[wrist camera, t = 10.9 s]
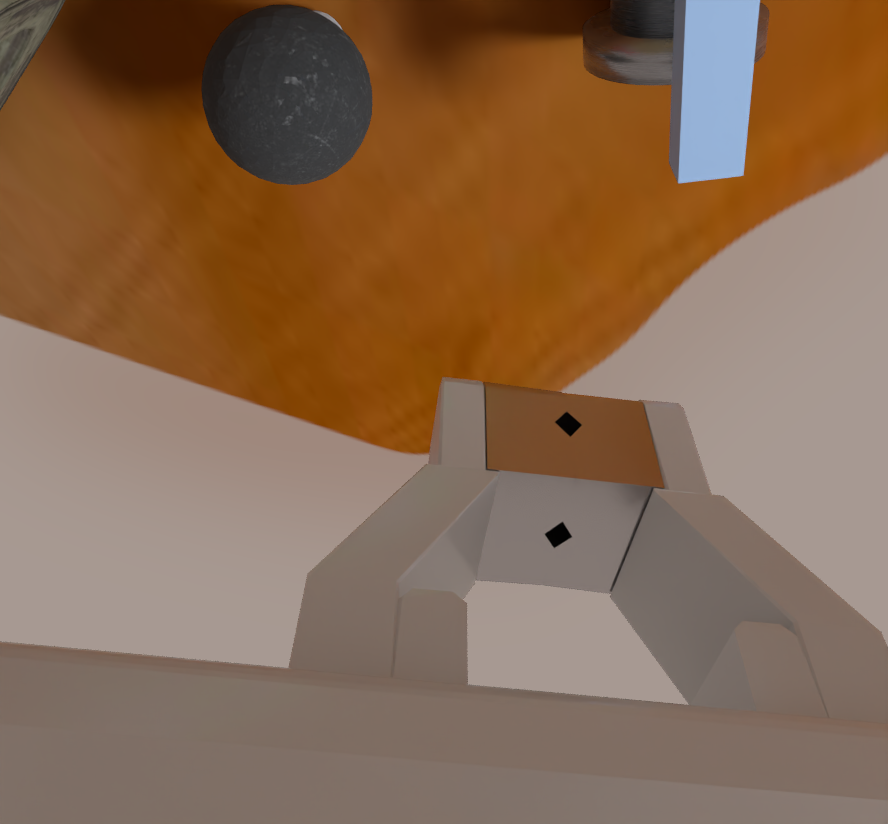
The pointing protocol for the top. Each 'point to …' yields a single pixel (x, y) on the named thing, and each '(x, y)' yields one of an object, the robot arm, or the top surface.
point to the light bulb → (287, 94)
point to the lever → (711, 87)
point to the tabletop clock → (22, 37)
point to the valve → (640, 41)
